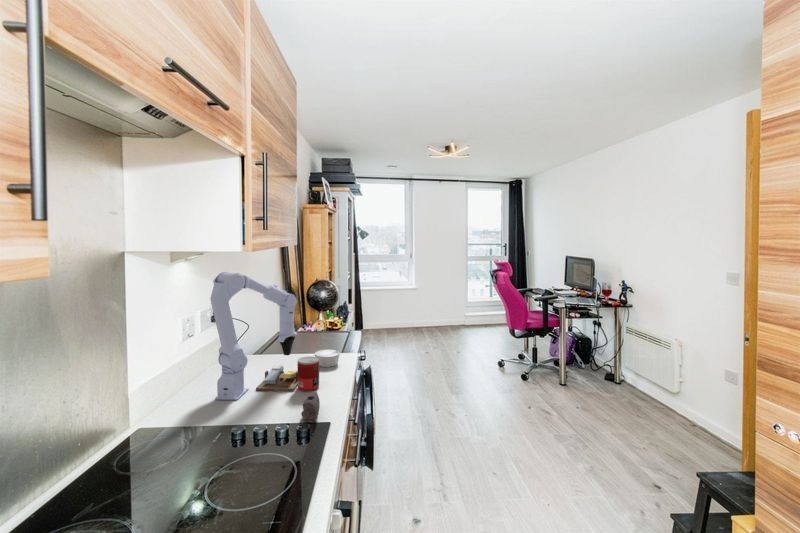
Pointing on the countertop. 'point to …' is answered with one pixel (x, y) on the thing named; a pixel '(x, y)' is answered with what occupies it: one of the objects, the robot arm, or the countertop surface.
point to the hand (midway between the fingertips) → (287, 354)
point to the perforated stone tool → (311, 407)
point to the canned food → (308, 373)
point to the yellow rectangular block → (288, 374)
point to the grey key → (273, 374)
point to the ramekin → (327, 357)
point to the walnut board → (280, 384)
